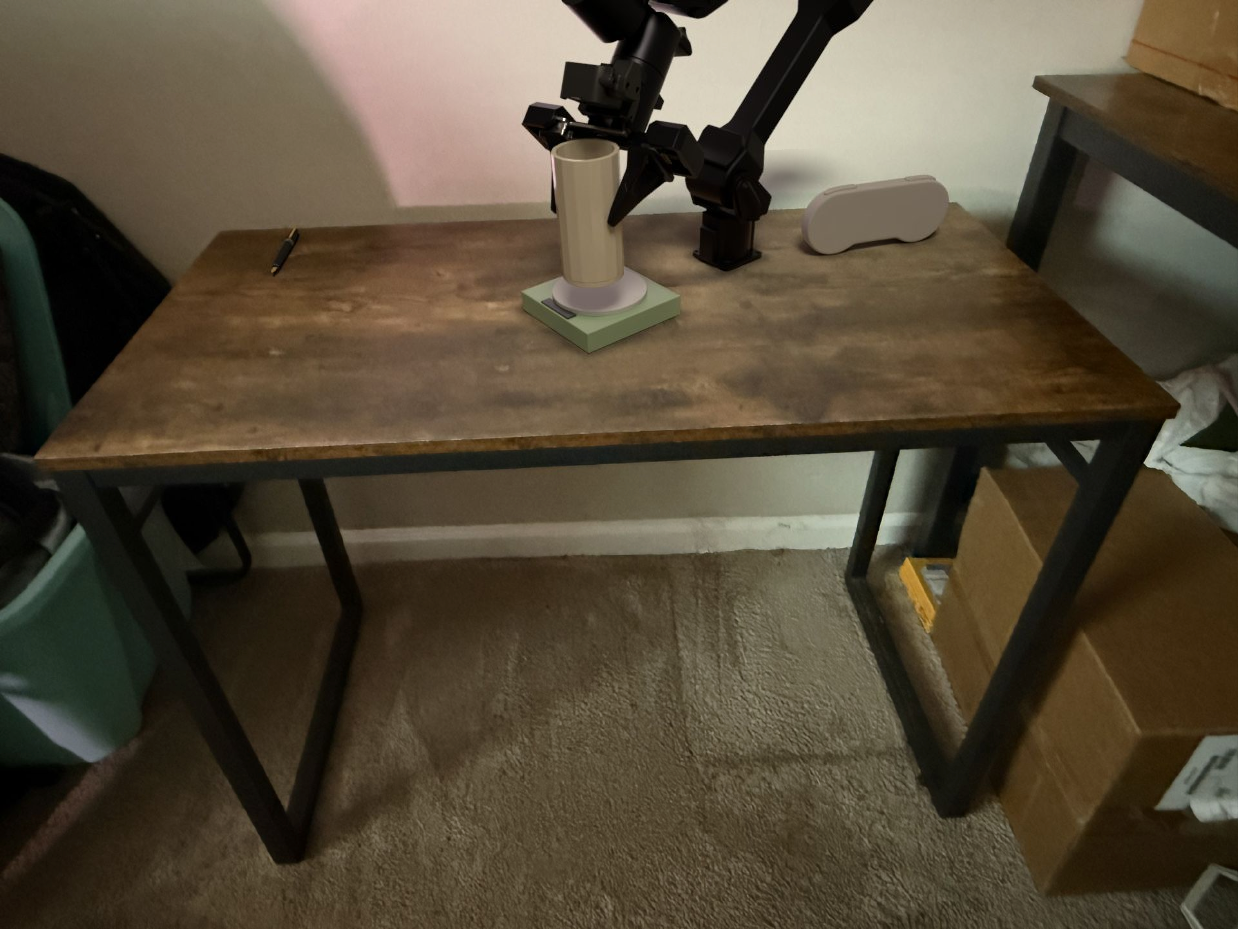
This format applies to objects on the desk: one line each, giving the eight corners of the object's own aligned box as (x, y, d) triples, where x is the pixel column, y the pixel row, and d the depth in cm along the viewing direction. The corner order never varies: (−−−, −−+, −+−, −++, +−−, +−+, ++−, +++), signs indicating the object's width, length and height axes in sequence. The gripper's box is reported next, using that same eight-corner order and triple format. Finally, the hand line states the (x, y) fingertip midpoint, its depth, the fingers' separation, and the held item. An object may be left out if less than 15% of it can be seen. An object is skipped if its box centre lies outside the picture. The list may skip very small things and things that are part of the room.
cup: (599, 255, 89) (591, 133, 81) (636, 274, 85) (632, 149, 77) (551, 273, 86) (538, 149, 78) (587, 294, 82) (577, 166, 74)
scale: (611, 276, 100) (610, 253, 98) (680, 314, 92) (680, 290, 90) (523, 309, 94) (520, 286, 92) (588, 353, 86) (587, 329, 84)
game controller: (932, 231, 107) (946, 168, 102) (942, 238, 105) (956, 174, 100) (796, 252, 104) (803, 187, 98) (804, 259, 102) (811, 194, 97)
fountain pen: (277, 278, 103) (274, 267, 102) (268, 278, 103) (264, 267, 102) (302, 232, 114) (299, 222, 113) (293, 233, 114) (290, 223, 113)
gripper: (521, 13, 77) (464, 165, 78) (692, 29, 69) (627, 198, 69) (575, 80, 87) (524, 215, 88) (729, 101, 79) (673, 249, 79)
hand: (581, 218), depth 81 cm, fingers closed on cup, 6 cm apart
